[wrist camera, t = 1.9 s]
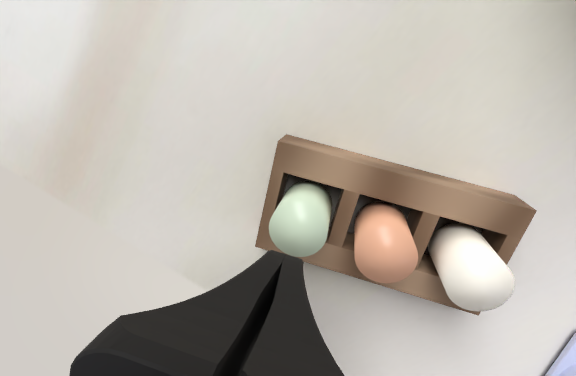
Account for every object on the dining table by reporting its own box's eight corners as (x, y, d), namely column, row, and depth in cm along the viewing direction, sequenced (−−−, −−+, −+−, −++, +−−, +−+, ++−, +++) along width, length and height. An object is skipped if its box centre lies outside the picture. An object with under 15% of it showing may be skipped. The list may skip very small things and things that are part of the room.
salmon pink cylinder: (413, 209, 19) (427, 239, 15) (396, 253, 20) (405, 291, 16) (362, 195, 19) (365, 221, 15) (348, 238, 20) (347, 272, 16)
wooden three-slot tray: (514, 195, 19) (536, 210, 17) (465, 290, 21) (478, 315, 19) (286, 134, 20) (278, 141, 18) (264, 230, 23) (255, 246, 20)
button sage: (338, 188, 19) (334, 213, 16) (324, 231, 20) (318, 264, 17) (289, 174, 19) (275, 195, 16) (279, 218, 20) (263, 247, 17)
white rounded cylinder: (493, 231, 18) (527, 268, 15) (471, 275, 19) (497, 319, 16) (439, 216, 18) (460, 249, 15) (420, 260, 19) (435, 300, 16)
